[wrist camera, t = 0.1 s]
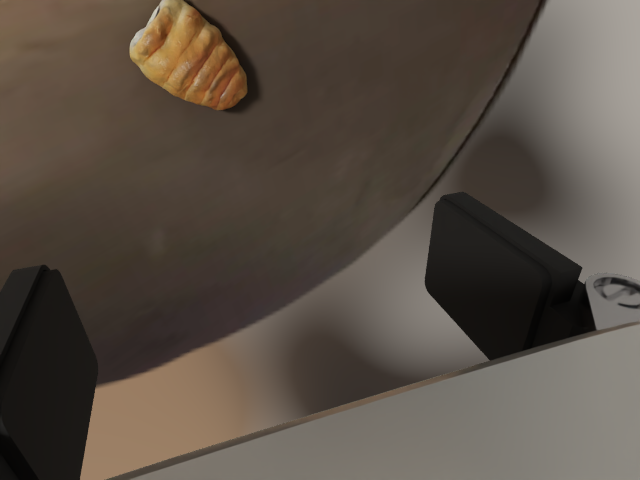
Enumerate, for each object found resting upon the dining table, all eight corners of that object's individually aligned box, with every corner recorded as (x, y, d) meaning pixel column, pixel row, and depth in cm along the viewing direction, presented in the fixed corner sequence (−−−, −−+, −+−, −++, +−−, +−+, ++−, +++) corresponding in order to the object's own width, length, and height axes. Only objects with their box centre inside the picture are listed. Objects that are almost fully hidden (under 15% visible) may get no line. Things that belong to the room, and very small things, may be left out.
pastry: (260, 66, 37) (269, 72, 34) (217, 125, 39) (222, 137, 36) (167, -16, 32) (167, -17, 29) (121, 56, 34) (117, 62, 31)
